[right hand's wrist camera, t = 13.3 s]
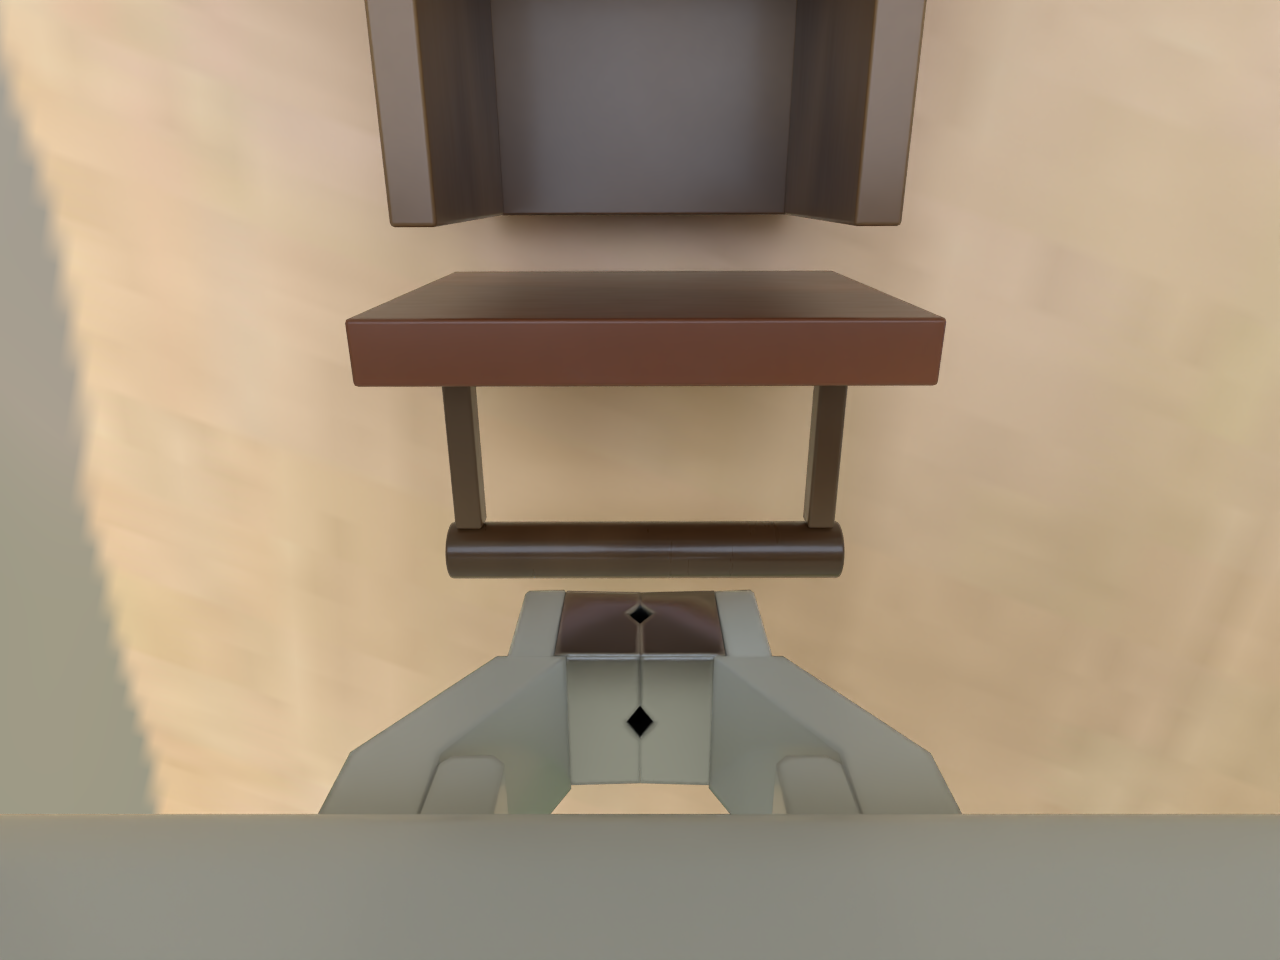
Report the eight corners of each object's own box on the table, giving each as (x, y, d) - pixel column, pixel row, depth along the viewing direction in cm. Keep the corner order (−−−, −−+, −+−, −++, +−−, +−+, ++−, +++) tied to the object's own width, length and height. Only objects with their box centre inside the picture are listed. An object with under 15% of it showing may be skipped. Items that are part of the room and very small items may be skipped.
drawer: (815, 487, 23) (903, 637, 15) (472, 488, 23) (387, 638, 15) (915, -668, 14) (1225, -1639, 7) (371, -665, 14) (67, -1630, 7)
